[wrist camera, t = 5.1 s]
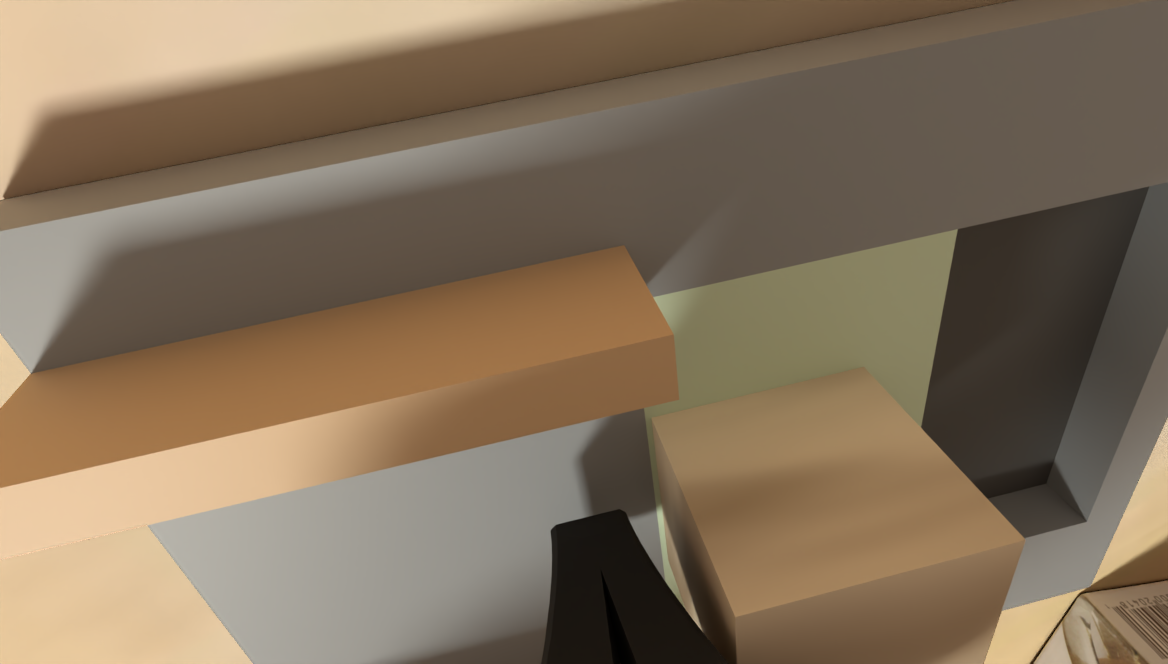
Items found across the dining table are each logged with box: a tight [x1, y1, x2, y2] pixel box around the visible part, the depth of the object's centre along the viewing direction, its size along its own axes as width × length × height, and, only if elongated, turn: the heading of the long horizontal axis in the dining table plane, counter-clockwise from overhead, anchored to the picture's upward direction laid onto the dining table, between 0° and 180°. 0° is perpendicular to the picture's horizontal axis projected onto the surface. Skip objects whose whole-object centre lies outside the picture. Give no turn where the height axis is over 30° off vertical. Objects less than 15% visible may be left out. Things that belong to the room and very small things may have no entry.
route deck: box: [0, 0, 1168, 664], centre depth 13 cm, size 15×20×4 cm
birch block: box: [651, 367, 1026, 664], centre depth 11 cm, size 4×4×4 cm
